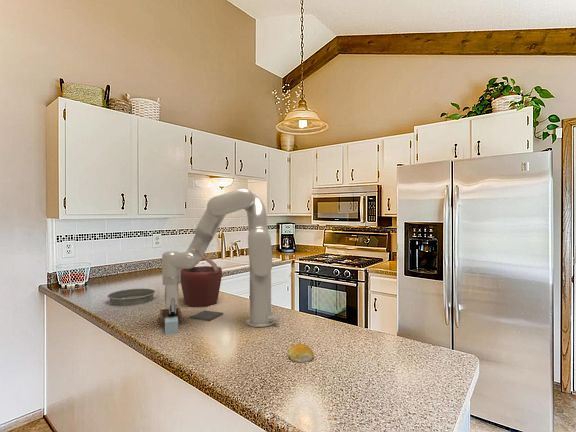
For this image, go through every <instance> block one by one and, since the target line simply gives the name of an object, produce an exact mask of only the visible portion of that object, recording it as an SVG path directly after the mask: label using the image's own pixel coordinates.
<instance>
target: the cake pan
mask: <svg viewBox="0 0 576 432" xmlns="http://www.w3.org/2000/svg"><path fill="white" fill-rule="evenodd" d="M155 294H156V290H155V289H153V288H130V289H122V290H118V291H117V290H116V291H114V292H111V293H109V294H107V296H106V297H107V299H109V301H110V304H111V305H112V304H113V306H117V307H120V306H121V307H124V306H125V307H129V306H136V305H142V304H143V305H144V304H147V303H149V302H151V301H152V300H153V299H154V295H155ZM123 298H124V299H123Z"/></svg>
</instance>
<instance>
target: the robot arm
mask: <svg viewBox="0 0 576 432" xmlns="http://www.w3.org/2000/svg"><path fill="white" fill-rule="evenodd" d="M241 210H244V211H245V212H246V214H247V215H246V216H247V226H248V227H247V229H248V235H247V246H248V247H247V248H248V260H249V262H248V263H249V264H248V265H249V318H247V319H246V320H245V323H246V325H247V326H249V327H252V328H265V327H270V326H271V327H272V325H274V324H275V322H277V323H278V322H279V321H280V316H278V315H274V312H273V311H272V270H273V269H272V268H273V252H272V241H271V240H272V237H271V235H270V233H269V227H268V219H267V218H268V217H267V212H266V211H267V210H266V207H265V204H264V202H263V201H262V199H261V198H260V197H259V196H258V195H256V194H254V193H253V192H252V191H251V190H249V188H244V187H241V188H238V189H234V190H232V191H228V192H227V193H223V194H220V195H216V196H213V197H211V198H210V199H209V200H208V202H207V204H206V209H205V211H204V214H203V215H202V217H200V220H199V221H198V223H197V226H196V227H195V234H194V236H193V239H192V241H191V242H190V244H189V246H188V248H187V249H186V251H182V252H179V251H175V250H173V251H172V250H170V251H165V252H163V253H162V255H161V261H162V262H161V263H162V264H161V268H162V270H161V272H162V285H163V286H164V303H165V305H164V306H165V309H169V314H168V317H176V316H177V314H176V308H179V285H181V270H182V269H191V268H193V267H197V265H198V264H199V263H200V261H201V260H202V259H201V258H202V257H204V255H205V253H206V251H207V249H208V247H209V246H210V244H211V242H212V241H213V239H214V237H215V235H216V234H217V232H218V229H219V228H220V226H221V225H222V222H223V221H224V219H225V218H226V215H229V214H233V213H235V212H237V211H241ZM177 317H178V316H177Z"/></svg>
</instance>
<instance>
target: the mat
mask: <svg viewBox="0 0 576 432" xmlns="http://www.w3.org/2000/svg"><path fill="white" fill-rule="evenodd" d="M223 315H224V312H222V311H221V312H220V311H213V310H205V309H204V310H202V311H200V312H197V313H195V314H193V315H190V316H189V319H193V320H199V321H205V322H206V321H207V322H211V321H212V320H215V319H217V318H219V317H221V316H223Z"/></svg>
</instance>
